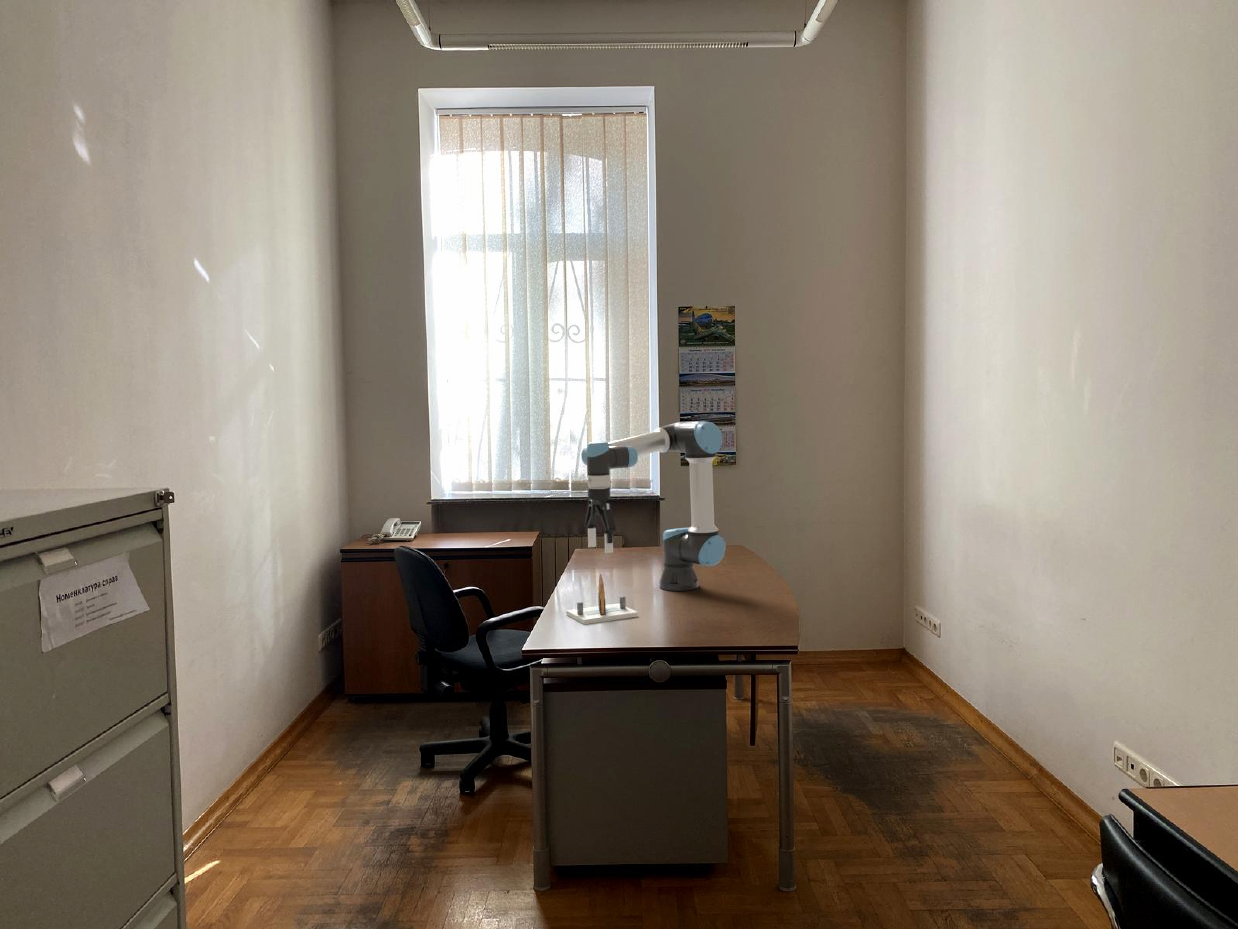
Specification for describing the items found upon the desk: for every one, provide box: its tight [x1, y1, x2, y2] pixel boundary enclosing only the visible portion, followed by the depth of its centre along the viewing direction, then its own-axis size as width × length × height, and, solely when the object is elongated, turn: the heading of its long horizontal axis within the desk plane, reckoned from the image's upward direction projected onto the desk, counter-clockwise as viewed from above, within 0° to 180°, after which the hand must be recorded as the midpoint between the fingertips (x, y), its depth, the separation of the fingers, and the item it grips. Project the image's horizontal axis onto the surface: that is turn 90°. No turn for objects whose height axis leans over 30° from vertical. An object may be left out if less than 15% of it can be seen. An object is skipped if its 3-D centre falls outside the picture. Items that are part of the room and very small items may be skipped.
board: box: [565, 595, 639, 625], centre depth 293 cm, size 20×15×6 cm
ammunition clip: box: [597, 573, 606, 615], centre depth 293 cm, size 11×2×12 cm, turn 4°
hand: (600, 549), depth 292 cm, fingers open, 13 cm apart
